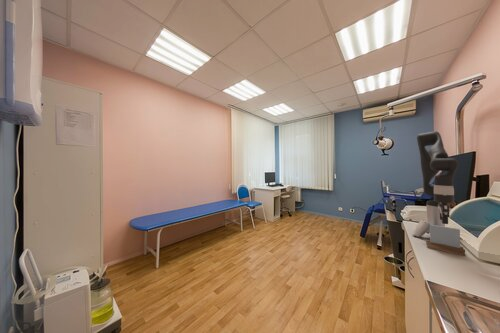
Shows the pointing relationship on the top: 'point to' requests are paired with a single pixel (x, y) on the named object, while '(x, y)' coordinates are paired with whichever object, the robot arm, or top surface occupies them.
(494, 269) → the top surface
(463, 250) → the slot rack
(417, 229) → the infrared thermometer
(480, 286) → the top surface
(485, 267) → the top surface
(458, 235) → the slate sheet
